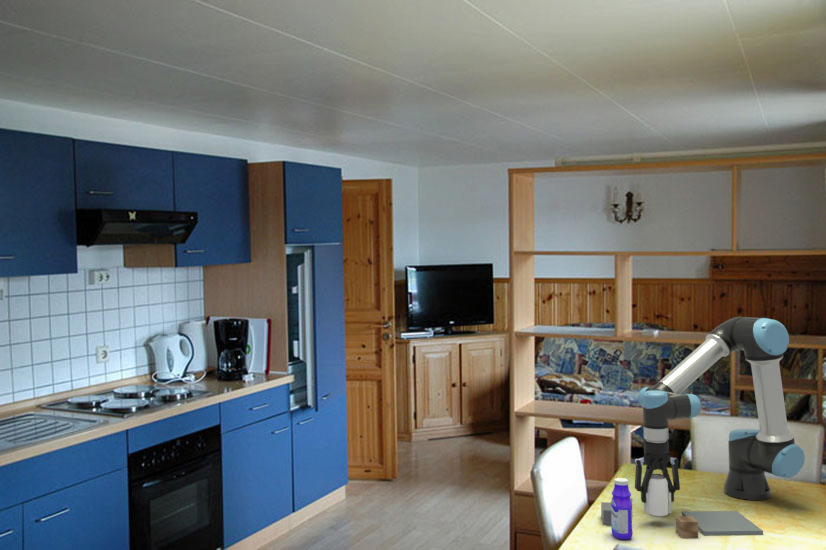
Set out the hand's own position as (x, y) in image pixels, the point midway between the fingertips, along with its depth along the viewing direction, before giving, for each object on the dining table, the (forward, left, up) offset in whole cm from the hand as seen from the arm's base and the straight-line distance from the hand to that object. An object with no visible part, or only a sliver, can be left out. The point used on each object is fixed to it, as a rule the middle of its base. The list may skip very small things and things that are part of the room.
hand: (657, 511), depth 230 cm
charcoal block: (+15, -3, -4) cm, 16 cm away
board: (-20, +1, -4) cm, 20 cm away
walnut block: (-6, +10, -4) cm, 12 cm away
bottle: (+14, +10, -4) cm, 18 cm away
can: (0, 0, -1) cm, 1 cm away
